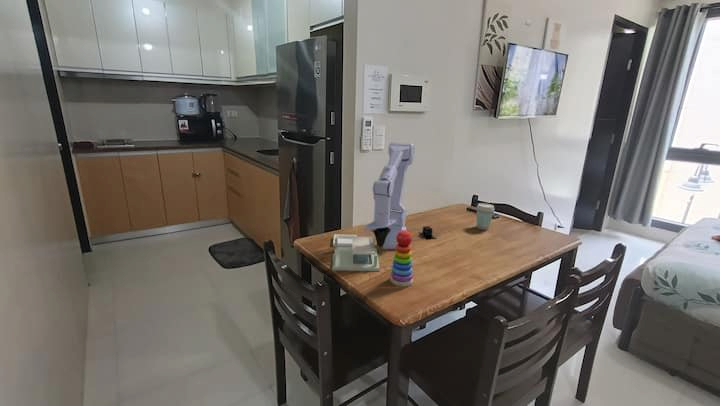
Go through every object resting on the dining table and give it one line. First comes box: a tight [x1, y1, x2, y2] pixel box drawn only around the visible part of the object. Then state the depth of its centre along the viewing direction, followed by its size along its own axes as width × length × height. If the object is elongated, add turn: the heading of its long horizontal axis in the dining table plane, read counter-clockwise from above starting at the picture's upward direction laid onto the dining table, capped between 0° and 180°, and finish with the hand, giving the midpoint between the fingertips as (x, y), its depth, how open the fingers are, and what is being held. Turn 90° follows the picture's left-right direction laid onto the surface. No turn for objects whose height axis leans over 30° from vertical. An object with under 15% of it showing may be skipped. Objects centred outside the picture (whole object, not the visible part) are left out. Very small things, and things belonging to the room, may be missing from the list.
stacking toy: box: [389, 230, 414, 288], centre depth 113 cm, size 8×8×19 cm
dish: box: [332, 234, 358, 248], centre depth 147 cm, size 10×10×2 cm
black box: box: [418, 225, 437, 240], centre depth 158 cm, size 12×7×5 cm, turn 16°
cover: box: [352, 236, 375, 255], centre depth 129 cm, size 8×15×1 cm, turn 1°
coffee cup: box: [476, 202, 495, 231], centre depth 169 cm, size 8×8×12 cm
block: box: [357, 254, 368, 262], centre depth 130 cm, size 4×4×4 cm
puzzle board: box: [331, 238, 381, 272], centre depth 130 cm, size 17×18×6 cm
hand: (380, 245), depth 129 cm, fingers closed
